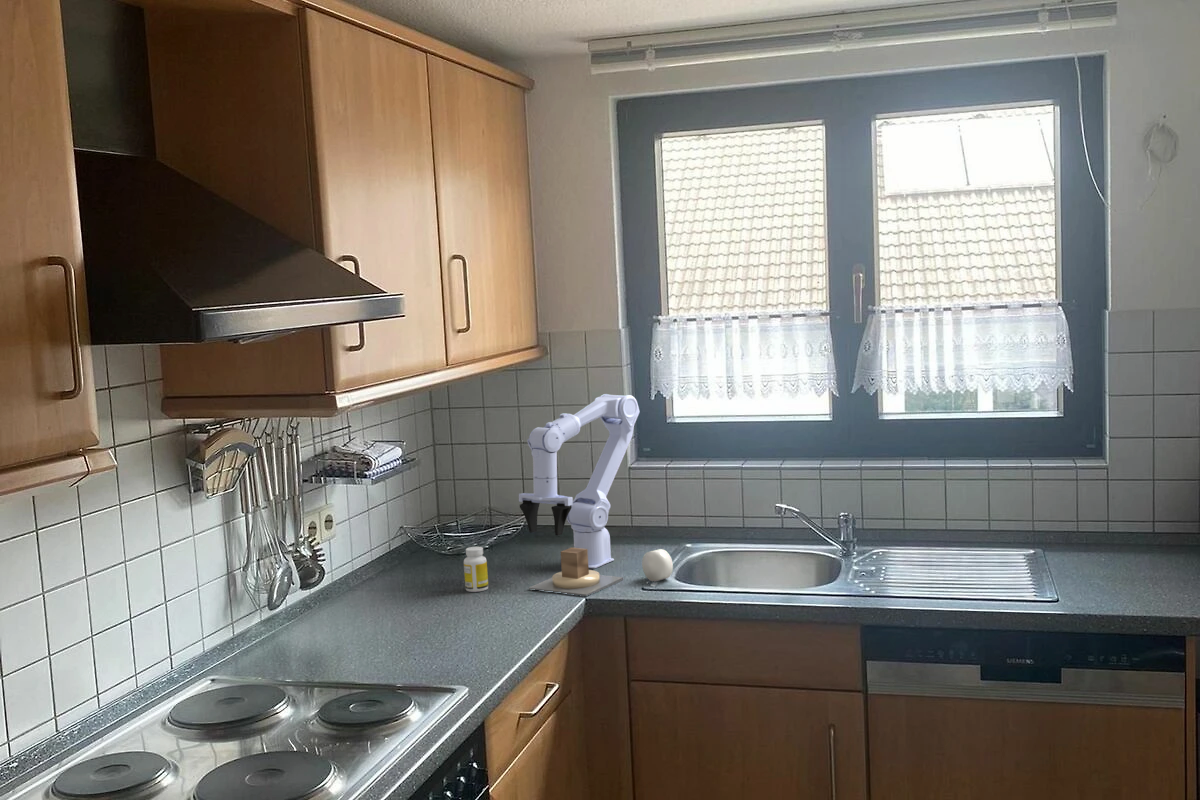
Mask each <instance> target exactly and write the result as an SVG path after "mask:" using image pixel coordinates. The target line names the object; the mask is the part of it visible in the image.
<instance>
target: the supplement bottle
mask: <svg viewBox="0 0 1200 800" xmlns="http://www.w3.org/2000/svg"><path fill="white" fill-rule="evenodd" d="M483 554H484V548H483V547H482V546H470V547H467V548H465V555H466V557H465V558H464V559H463V571H464V572H463V574H464V585H465V587H464V589H465V590H466V592H469V593H470V592H471V593H478V592H483V591H484V592H485V591H486V590H488V589H489V575H488V574H489V573H488V561H487V558H486V556H484V555H483Z"/></svg>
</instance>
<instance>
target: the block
mask: <svg viewBox="0 0 1200 800" xmlns="http://www.w3.org/2000/svg"><path fill="white" fill-rule="evenodd" d="M560 567H561V572H562V577H567V578H576V579H579V578H581V577H583V576H586V575H588V574H589V570H590V568H588V550H587V549H582V548H574V547H569V548H567V549H564V550H561V551H560Z"/></svg>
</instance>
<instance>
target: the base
mask: <svg viewBox="0 0 1200 800" xmlns="http://www.w3.org/2000/svg"><path fill="white" fill-rule="evenodd" d="M623 581H624V577H623V576H622V577H621V576H614V575H603V574H600V572H598V571H597V570H594V569H593V570H592V569H589V574H588V575H586V576H583V577H581V578H579V579H576V578H567V577H562V571H559V572H556V573H554V574H553V575H552V577H550V578H547V579H545V580H543V581H540V582H538V583H536V584H534V585H531V586H528V589H535V590H544V591H553V592H561V593H567V594H574V595H581V596H587V595H590V594H592V593H594V594H596V593H599V592H600V590H601V591H603V590H605V589H607V588H609V587H612V586H614V585H615V584H618V583H620V582H623ZM528 589H527V590H528ZM602 589H603V590H602ZM595 592H596V593H595ZM592 595H593V594H592ZM581 596H580V597H581ZM590 596H591V595H590Z"/></svg>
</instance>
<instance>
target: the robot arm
mask: <svg viewBox="0 0 1200 800" xmlns="http://www.w3.org/2000/svg"><path fill="white" fill-rule="evenodd" d="M639 415H640V407H639V404H638V400H637V399H636V398H635V397H634V396H633V395H631V394H627V395H620V394H619V395H617V394H608V393H604V394H602V395H600V396H597V397H595V398H594V400H593V401H592V402H591V403H589V404H587V405H586V406H585V407H583V408H582V409H580V410H579V411H577V412H576V413H574V414H572V413H566V412H565V413H560V414H559V416H558V418H556V419H554V420H553V421H548V422H546V423H545V425H544V426H543V427H541V426H538V427H535V428H533V429H532V431H531V432H530V434H529V437H528V438H527V441H526V442H527V445H528V447H529V449H530V451H531V453H530V454H531V456H532V467H533V468H532V472H533V473H532V476H533V477H532V478H533V479H532V480H533V482H532V483H533V488H532V489H533V493H532V492H531V493H530V492H529V493H528V492H523V493H518V502H519V503H520V502H521V503H520V504H519V508H520V510H521V511H522V513H523V516H524V518H525V520H526V524H527V527H528V528H527V529H528V531H529V533H531V534H533V533H536V532H537V530H538V513H539V507H540V504H547V505H548V504H549V505H554V506H551V511H552V515H553V520H554V523H553V524H554V534H555V536H562V535H563V532H564V527H565V524H566V521H567V522H568V524H569V525H570V527H571V529H572V530H573V531H572V532H573V548H582V549H587V550H588V569H598V568H599V567H602V566H604V565H607V564H608V563H610V562H613V561H614V560H615V559H614V558H613V557H612V554H611V553H612V552H611V536H610V532H609V530H608V529H607V528H606V525H607V522H608V520H609V512H610V509H611V507H612V506H611V503H610V501H609V500H608V498H607V496H608V493H609V491H610V489H611V487H612V484H613V482H614V480H615V477H616V475H617V473H618V470H619V468H620V466H621V463H622V461H623V459H624V456H625V454H626V452H627V451H628V450H627V449H628V447H629V445H630V442H631V440H632V437H633V435H634V428H635V427H634V426H635V424H636V421H637V420H638V417H639ZM598 419H600V421H601V422H602V424H603V426H604V427H605V429H606V430H608V433H609V434H608V435H609V436H608V438H607V440H606V442H605V445H604V447H603V449H602V451H601V454H600V456H599V458H598V461H597V462H596V465H595V467H594V470H593V471H592V474H591V476H590V477H589V481H588V484H587V486H586V488H584V489H583V490H582V491H580V492H578V493H576V494H575V497H574V498H573V496H566V495H561V494H558V468H557V467H558V454H557V452H558V451H559V450H560V449H561V447H562V444H564V443H565V442H567V441H568V440H570V439H572V438H573V437H575V436H577V435H578V434H579V433H580V431H581V427H583V426H585V425H587V424H590V423H591V422H594V421H595V420H598Z"/></svg>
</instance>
